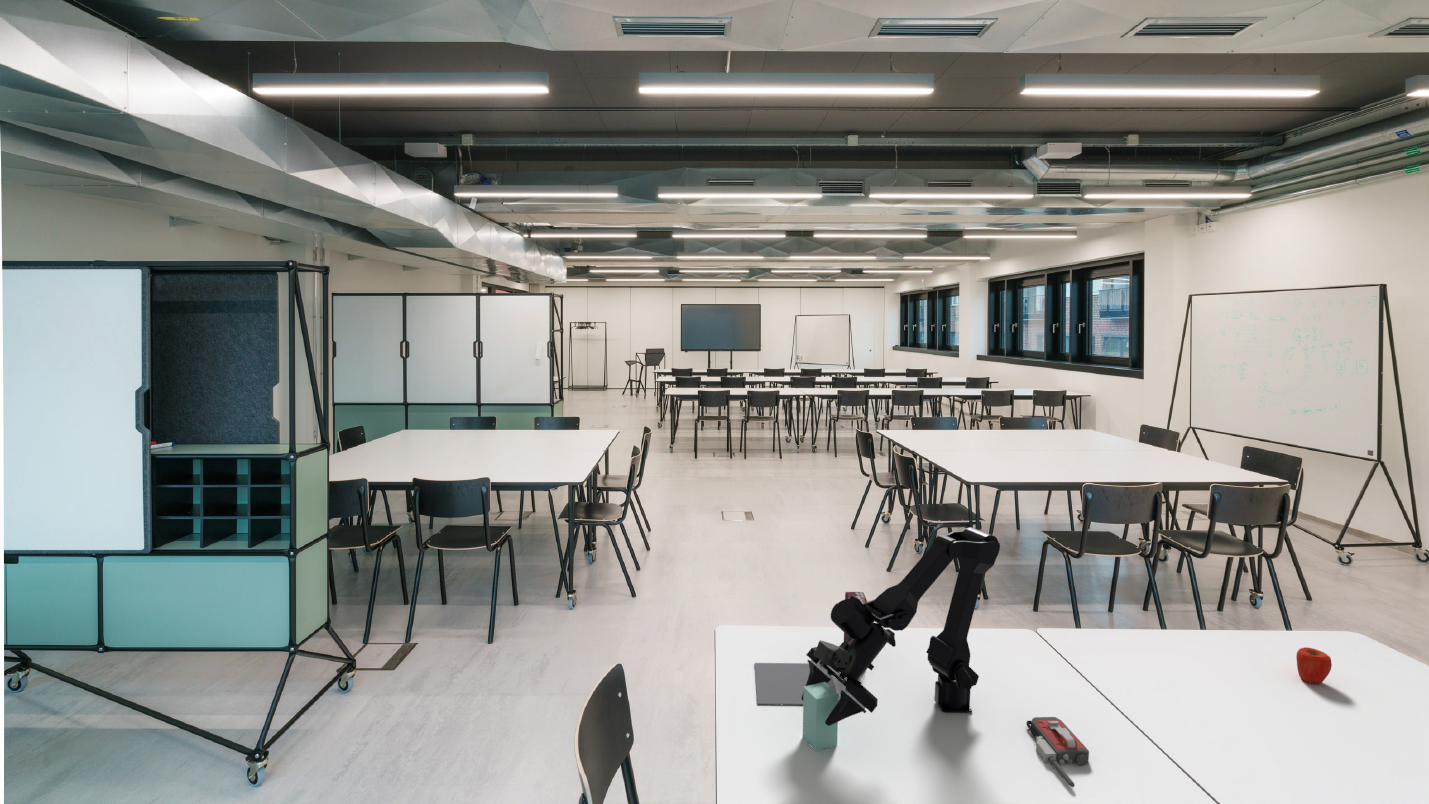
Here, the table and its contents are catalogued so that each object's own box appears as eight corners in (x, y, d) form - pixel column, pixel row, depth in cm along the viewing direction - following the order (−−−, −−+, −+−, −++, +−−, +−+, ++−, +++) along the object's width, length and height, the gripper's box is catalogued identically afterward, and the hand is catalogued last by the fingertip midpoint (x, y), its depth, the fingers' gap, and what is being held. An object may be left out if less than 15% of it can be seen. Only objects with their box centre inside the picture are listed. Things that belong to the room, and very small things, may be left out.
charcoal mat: (828, 664, 175) (828, 663, 175) (839, 705, 158) (839, 704, 157) (754, 664, 176) (754, 662, 176) (757, 704, 158) (757, 703, 158)
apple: (1334, 684, 166) (1338, 654, 165) (1318, 690, 164) (1322, 659, 163) (1304, 672, 172) (1307, 642, 171) (1287, 676, 170) (1291, 647, 169)
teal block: (823, 731, 148) (825, 681, 146) (837, 745, 143) (838, 694, 142) (802, 737, 146) (803, 686, 145) (815, 751, 142) (816, 699, 140)
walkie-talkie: (1015, 728, 150) (1066, 793, 130) (1017, 708, 149) (1068, 770, 130) (1057, 727, 150) (1113, 791, 131) (1058, 707, 150) (1115, 769, 130)
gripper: (815, 609, 152) (767, 669, 149) (866, 648, 135) (814, 716, 132) (846, 638, 156) (800, 696, 153) (899, 679, 139) (849, 746, 136)
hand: (814, 712), depth 143 cm, fingers open, 9 cm apart
